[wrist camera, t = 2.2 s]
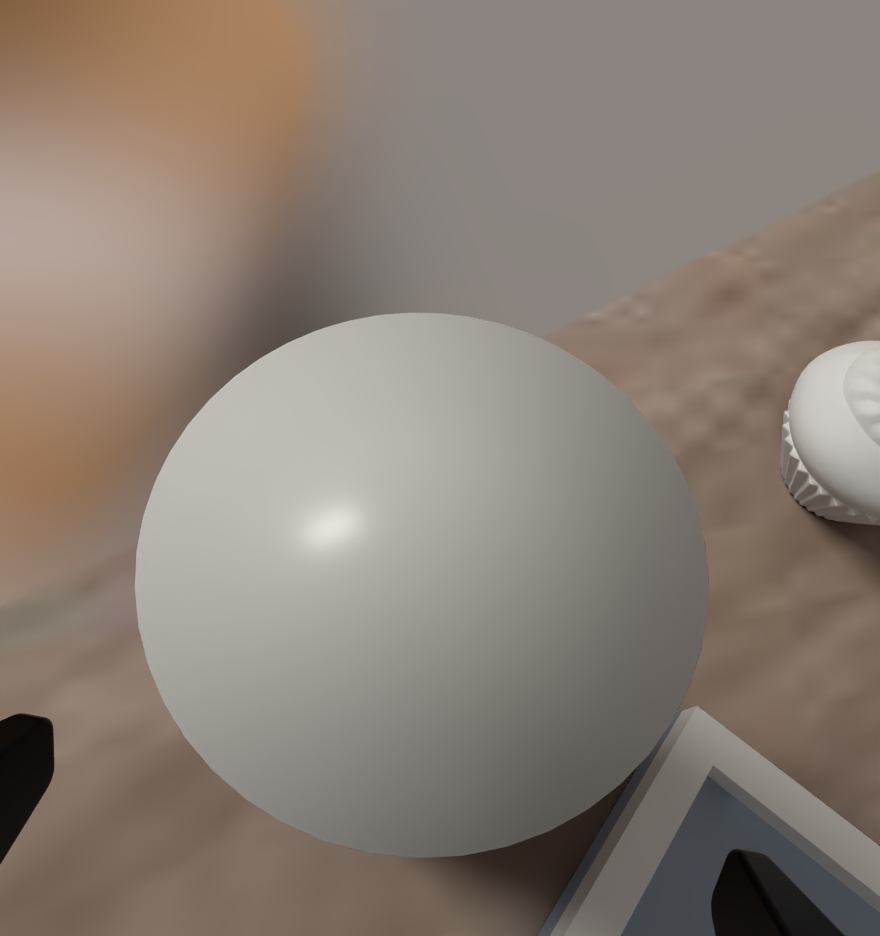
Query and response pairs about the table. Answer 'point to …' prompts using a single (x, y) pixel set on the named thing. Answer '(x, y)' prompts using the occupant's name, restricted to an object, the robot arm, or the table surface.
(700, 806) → the charging board
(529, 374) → the grey cup with lid
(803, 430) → the muffin
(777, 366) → the table surface
